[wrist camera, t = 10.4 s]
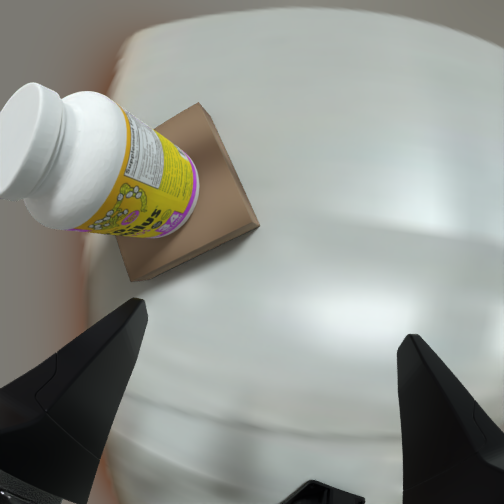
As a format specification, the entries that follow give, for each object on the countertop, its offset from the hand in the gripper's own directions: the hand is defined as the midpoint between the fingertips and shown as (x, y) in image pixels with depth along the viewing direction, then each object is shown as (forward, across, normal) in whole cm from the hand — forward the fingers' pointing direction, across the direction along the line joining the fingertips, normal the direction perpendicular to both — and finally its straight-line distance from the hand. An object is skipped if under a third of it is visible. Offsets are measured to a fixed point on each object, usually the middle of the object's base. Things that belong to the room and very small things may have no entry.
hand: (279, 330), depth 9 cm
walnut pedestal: (+14, +8, +2) cm, 16 cm away
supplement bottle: (+12, +8, +1) cm, 15 cm away
